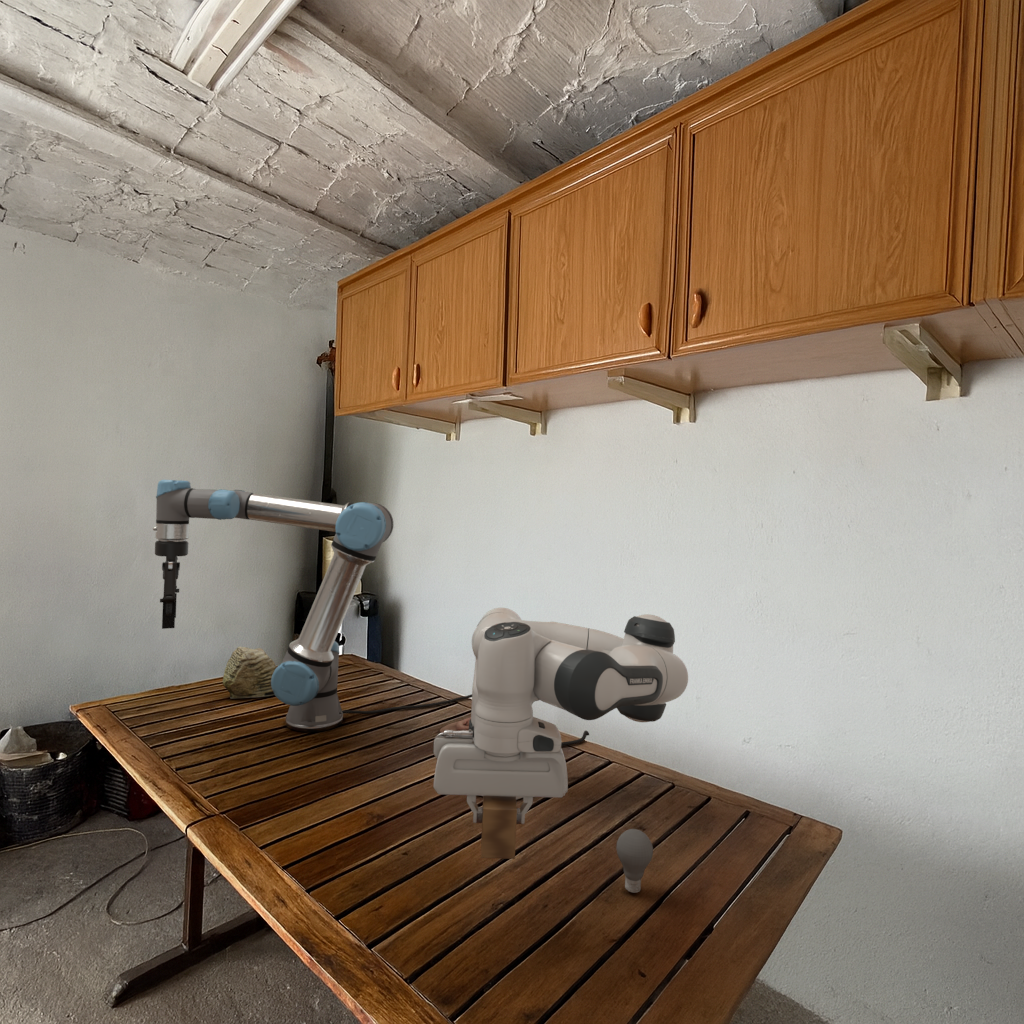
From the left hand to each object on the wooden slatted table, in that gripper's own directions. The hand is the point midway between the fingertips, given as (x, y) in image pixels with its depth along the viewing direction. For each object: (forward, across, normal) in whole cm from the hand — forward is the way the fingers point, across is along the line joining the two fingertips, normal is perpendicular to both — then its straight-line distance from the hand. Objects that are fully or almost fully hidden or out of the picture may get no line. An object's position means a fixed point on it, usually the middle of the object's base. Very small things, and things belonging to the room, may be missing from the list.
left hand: (169, 623), depth 162 cm
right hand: (+14, +98, +47) cm, 110 cm away
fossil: (+29, -28, +24) cm, 47 cm away
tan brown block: (+17, +99, +47) cm, 111 cm away
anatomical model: (+29, +24, +74) cm, 83 cm away
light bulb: (+29, +100, +72) cm, 127 cm away
